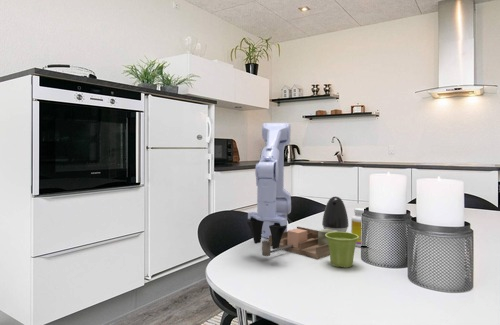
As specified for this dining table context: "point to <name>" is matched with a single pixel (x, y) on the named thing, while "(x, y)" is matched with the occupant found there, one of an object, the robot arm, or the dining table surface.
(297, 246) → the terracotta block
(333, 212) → the black rounded cone
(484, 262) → the dining table surface
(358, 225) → the supplement bottle
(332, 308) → the dining table surface
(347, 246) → the plant pot
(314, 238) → the lane shelf
